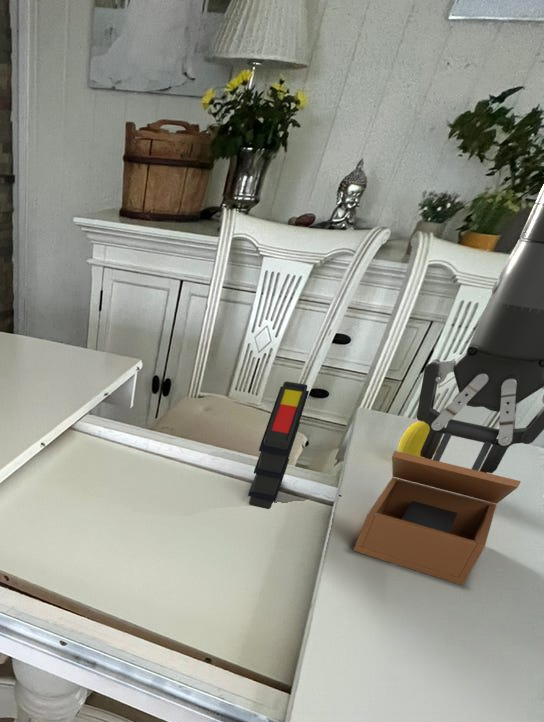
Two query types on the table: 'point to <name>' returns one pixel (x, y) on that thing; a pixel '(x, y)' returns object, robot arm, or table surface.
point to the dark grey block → (430, 516)
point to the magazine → (277, 444)
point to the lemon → (414, 439)
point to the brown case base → (426, 531)
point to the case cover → (456, 467)
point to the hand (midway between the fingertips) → (453, 467)
